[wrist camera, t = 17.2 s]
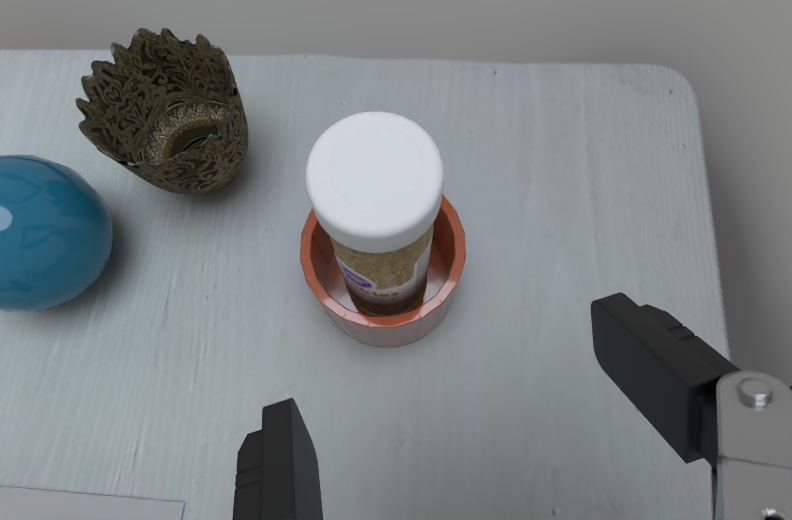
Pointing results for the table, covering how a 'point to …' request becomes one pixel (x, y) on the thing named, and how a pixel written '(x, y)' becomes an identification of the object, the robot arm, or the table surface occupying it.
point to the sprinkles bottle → (378, 206)
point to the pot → (386, 329)
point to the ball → (48, 233)
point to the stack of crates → (81, 506)
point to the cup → (167, 112)
